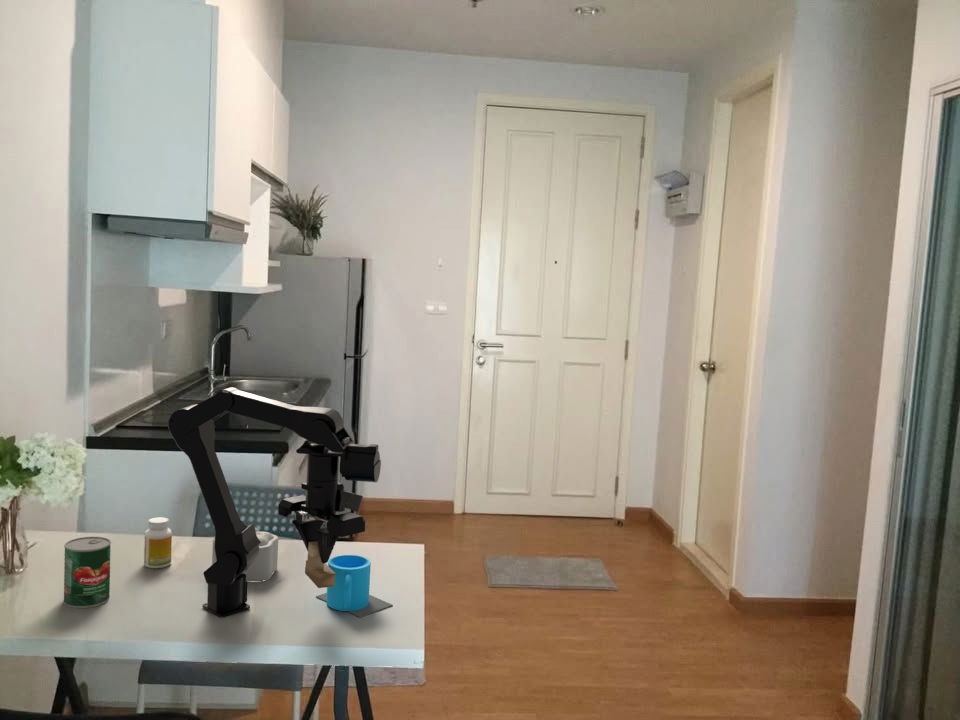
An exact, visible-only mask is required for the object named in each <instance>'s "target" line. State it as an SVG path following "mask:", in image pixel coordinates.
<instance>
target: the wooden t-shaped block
mask: <svg viewBox="0 0 960 720" xmlns="http://www.w3.org/2000/svg"><path fill="white" fill-rule="evenodd" d="M304 574H305V575H306V576H307V577H308V578H309V579H310V580H311V582H312V583H313V584H314V585H315V586H316V587H317V588H318V589H322V588H323V589H325V588H327V587H334V585H335V572H334V571H333V570H332V569H331V568H330V567H329V566H328V563H322V561H321V558H320V553H319V548H318V543H317V541H314V542H309V545H308V551H307V559H306V560H305V567H304Z"/></svg>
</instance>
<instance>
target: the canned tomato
mask: <svg viewBox="0 0 960 720" xmlns="http://www.w3.org/2000/svg"><path fill="white" fill-rule="evenodd" d="M111 543H112V541H111V540H110V539H109V538H107V537H103V536H82V537H78V538H73V539H70V540H68V541H67V542H65V543H64V560H63V561H64V563H63V564H64V565H63V566H64V567H63V569H64V571H63V573H64V575H63V577H64V578H63V582H64V583H63V585H64V586H63V604H64V605H65V606H66V607H69V608H74V609H89V608H94V607H98V606H101V605H103V604H105V603H107V602H108V601H109V600H110V597H111V596H110V589H111V588H110V587H111V585H110V584H111Z"/></svg>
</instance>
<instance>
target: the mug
mask: <svg viewBox="0 0 960 720" xmlns="http://www.w3.org/2000/svg"><path fill="white" fill-rule="evenodd" d="M371 564H372V562H371V559H370V558H367V557H365V556H363V555H357V554H342V555H336V556H333V557H330V558H329V560H328V562H327V565H328V566H329V567H330V568H331V569H332V570H333V571H334V572H335V585H334V587H326V593H327V600H326V602H325V603H326V605H327V606H328V607H329V608H331V609H333V610H336V611H341V612H342V611H344V612H347V611H354V610H359V609H362V608H365V607H366V606H367V605H368V603H369V595H370V586H371V585H370V584H371V583H370V582H371V568H372V567H371Z"/></svg>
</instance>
